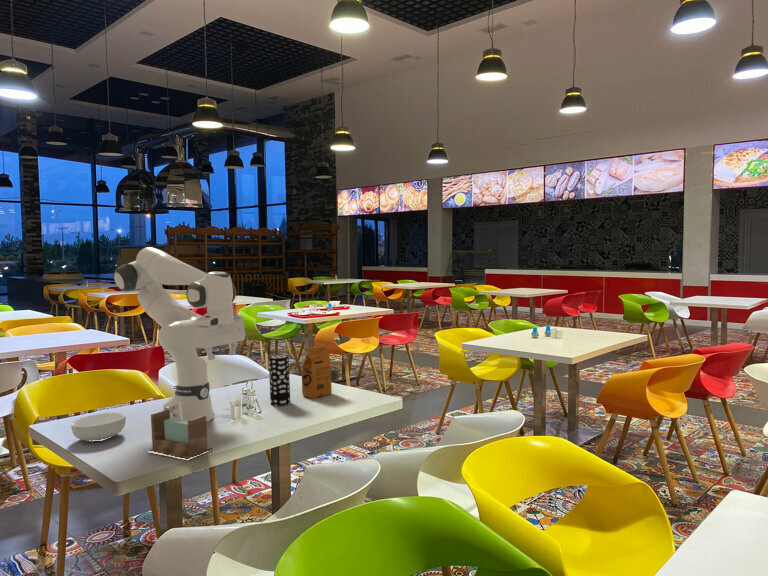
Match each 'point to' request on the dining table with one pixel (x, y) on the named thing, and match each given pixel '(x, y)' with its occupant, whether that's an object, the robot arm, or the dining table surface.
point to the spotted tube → (279, 380)
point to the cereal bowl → (98, 426)
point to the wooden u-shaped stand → (194, 448)
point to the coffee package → (316, 373)
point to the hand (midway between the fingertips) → (222, 357)
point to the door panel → (176, 430)
